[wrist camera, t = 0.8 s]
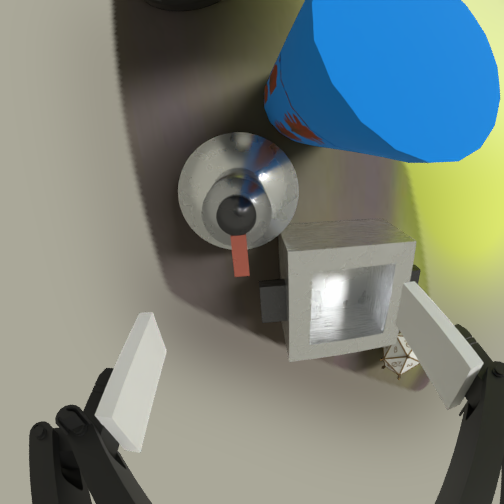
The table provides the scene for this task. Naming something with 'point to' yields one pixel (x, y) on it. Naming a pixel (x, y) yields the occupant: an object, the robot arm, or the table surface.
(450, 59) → the thermos
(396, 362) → the game die
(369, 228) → the base
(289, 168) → the lid
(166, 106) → the table surface
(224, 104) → the table surface
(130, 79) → the table surface
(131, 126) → the table surface
